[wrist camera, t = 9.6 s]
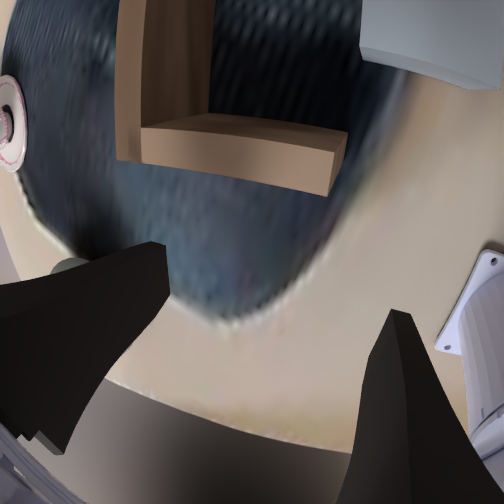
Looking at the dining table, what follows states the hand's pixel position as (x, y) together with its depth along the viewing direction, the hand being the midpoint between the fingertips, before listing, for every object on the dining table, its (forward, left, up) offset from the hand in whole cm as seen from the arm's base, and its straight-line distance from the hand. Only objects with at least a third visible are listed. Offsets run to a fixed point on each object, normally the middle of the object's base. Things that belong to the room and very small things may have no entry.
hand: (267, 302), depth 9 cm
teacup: (+35, -4, -10) cm, 36 cm away
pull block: (-7, -11, -9) cm, 16 cm away
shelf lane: (+4, -11, -9) cm, 15 cm away
